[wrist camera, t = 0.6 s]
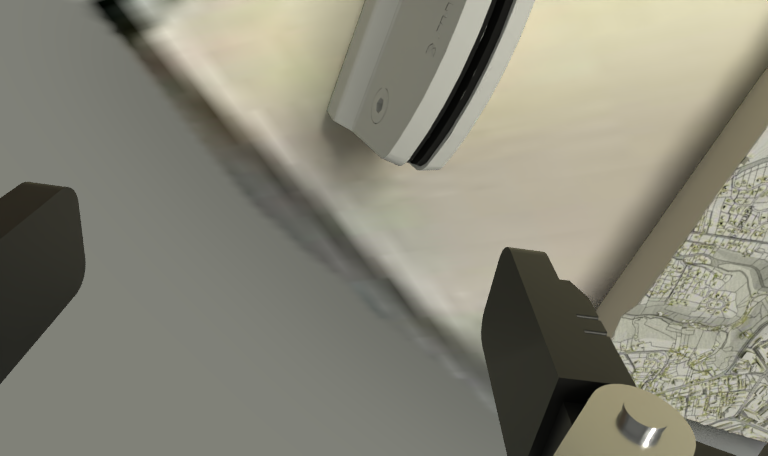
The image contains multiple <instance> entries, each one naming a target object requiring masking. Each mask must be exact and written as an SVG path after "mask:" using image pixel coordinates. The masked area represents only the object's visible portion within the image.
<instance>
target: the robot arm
mask: <svg viewBox="0 0 768 456" xmlns="http://www.w3.org/2000/svg"><path fill="white" fill-rule="evenodd" d="M84 273H85V254H84V245H83V237H82V228H81V221H80V212H79V203H78V198H77V195H76V193H75V192H74V190H73V189H71V188H69V187H62V186H55V185H47V184H40V183H32V182H24V183H21V184H20V185H18V186H17V187H16V188H14V189H13V190H12V191H10V192H8V193H7V194H6V195H4V196H3V197H1V198H0V384H1V383H2V381H3V380H4V379H5V378H6V376H7V375H8V374H9V373H10V372H11V371H12V369H13V368H14V367H15V366H16V365H17V364H18V362H19V361H20V360H21V359H22V358H23V356H24V355H25V354H26V353H27V352H28V351H29V349H30V348H31V347H32V346H33V345H34V343H35V342H36V341H37V340H38V339H39V338H40V336H41V335H42V334H43V333H44V332H45V330H46V329H47V328H48V327H49V326H50V325H51V323H52V322H53V321H54V320H55V319H56V317H57V316H58V315H59V314H60V313H61V312H62V310H63V309H64V308H65V307H66V306H67V304H68V303H69V302H70V301H71V300H72V298H73V297H74V296H75V295H76V294H77V292H78V290H79V288H80V286H81V284H82V281H83V278H84ZM598 318H599V316H598V315H597V313H596V311H595V309H594V307H593V305H592V303H591V302H590V300H589V298H588V297H587V296H586V295H585V294H583V293H582V292H581V291H580V290H579V289H578V288H577V287H576V286H575V285H573V284H572V283H571V282H570V281H567V280H559V278H558V276H557V274H556V272H555V270H554V268H553V266H552V264H551V262H550V260H549V258H548V256H547V254H546V253H545V252H540V251H533V250H525V249H518V248H511V247H506V248H504V250H503V251H502V253H501V255H500V258H499V262H498V265H497V269H496V272H495V275H494V279H493V282H492V286H491V289H490V293H489V296H488V300H487V303H486V307H485V310H484V314H483V319H482V329H481V339H482V346H483V351H484V355H485V359H486V364H487V368H488V373H489V377H490V381H491V386H492V390H493V395H494V399H495V403H496V408H497V412H498V417H499V421H500V425H501V430H502V434H503V439H504V443H505V447H506V452H507V456H736V455H733V454H730V453H727V452H725V451H722V450H719V449H716V448H713V447H711V446H708V445H705V444H703V443H700V442H698V441H696V440H695V436H694V433H693V431H692V429H691V427H690V425H689V424H688V423H687V421H686V420H685V419H684V417H683V416H682V415H681V414H680V413H679V412H678V411H677V410H676V409H674V408H673V407H672V406H671V405H670V404H668V403H667V402H665V401H664V400H663V399H661V398H659V397H658V396H656V395H654V394H652V393H650V392H648V391H646V390H643V389H640V388H637V386H636V385H635V383H634V381H633V379H632V377H631V375H630V374H629V372H628V370H627V368H626V366H625V364H624V363H623V361H622V359H621V357H620V355H619V353H618V351H617V350H616V348H615V346H614V344H613V342H612V340H611V339H610V337H609V336H607V331H606V329H605V327H604V326H603V324H602V322H601V321H600V320H598ZM758 456H768V444H767V445H765V446H764V448H763V449H762V451H761V452H760V454H759V455H758Z"/></svg>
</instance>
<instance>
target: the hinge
mask: <svg viewBox="0 0 768 456" xmlns="http://www.w3.org/2000/svg"><path fill="white" fill-rule="evenodd" d="M534 1H535V0H365V3H364V6H363V9H362V12H361V15H360V17H359V20H358V23H357V26H356V29H355V32H354V35H353V37H352V40H351V43H350V46H349V49H348V52H347V55H346V57H345V60H344V63H343V66H342V69H341V72H340V74H339V77H338V80H337V83H336V86H335V89H334V92H333V94H332V97H331V100H330V103H329V106H328V109H327V112H328V113H329V115H330V116H331V118H332V120H334V121H335V122H337V123H338V124H340V125H342V126H344V127H345V128H347V129H349V130H350V131H352V132H353V133H354V134H356V135H357V136H358V137H359V138H360V139H361V140H362V141H363V142H364V143H365V144H366V145H368V146H369V147H370V148H371V149H372V150H373V151H374V152H375V153H376V154H377V155H378V156H380V157H381V158H382V159H385V160H387V161H389V162H391V163H394V164H396V165H399V166H401V165H403V164H405V163H410V164H411V165H412V166H413V167H414V168H415V169H417V170H439V169H441V168H442V167H443V166H444V165H445V164H446V163H447V161H448V160H449V159H450V158H451V157H452V155H453V154H454V153H455V151H456V150H457V149H458V147H459V146H460V145H461V143H462V142H463V140H464V139H465V138H466V136H467V135H468V133H469V132H470V130H471V129H472V127H473V125H474V124H475V122H476V121H477V119H478V118H479V116H480V114H481V113H482V111H483V109H484V108H485V106H486V105H487V103H488V101H489V99H490V98H491V96H492V94H493V92H494V90H495V88H496V86H497V84H498V83H499V81H500V79H501V77H502V75H503V73H504V71H505V69H506V67H507V65H508V63H509V61H510V59H511V56H512V54H513V52H514V50H515V48H516V46H517V43H518V41H519V39H520V37H521V34H522V32H523V29H524V27H525V24H526V22H527V19H528V17H529V14H530V12H531V9H532V7H533V4H534Z"/></svg>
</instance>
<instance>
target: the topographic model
mask: <svg viewBox="0 0 768 456" xmlns="http://www.w3.org/2000/svg"><path fill="white" fill-rule="evenodd" d="M596 313H597V315H598V316H599V318H598V320H600V321H601V322H602V324H603V326H604V327H605V329H606V331H607V336H609V337H610V339H611V340H612V342H613V344H614V346H615V348H616V350H617V351H618V353H619V355H620V357H621V359H622V361H623V363H624V364H625V366H626V368H627V370H628V372H629V374H630V375H631V377H632V379H633V381H634V383H635V385H636V386H637V388H640V389H643V390H646V391H648V392H650V393H652V394H654V395H656V396H658V397H659V398H661V399H663V400H664V401H665V402H667V403H668V404H670V405H671V406H672V407H673V408H674V409H676V410H677V411H678V412H679V413H680V414H681V415H682V416H683V417H684V418H686V419H690V420H693V421H697V422H700V424H703V425H706V424H707V425H710V426H713V427H717V429H723V430H726V431H729V433H732V432H733V433H736V434H739V435H743V436H745V437H748V438H752V439H756V440H759V441H763V442H766V443H768V66H767V68H766V69H765V71H764V72H763V74H762V75H761V76H760V78H759V79H758V81H757V82H756V84H755V85H754V86H753V88H752V89H751V91H750V92H749V93H748V95H747V96H746V98H745V99H744V101H743V102H742V103H741V105H740V106H739V108H738V109H737V111H736V112H735V113H734V115H733V116H732V118H731V119H730V121H729V122H728V123H727V125H726V126H725V128H724V129H723V130H722V132H721V133H720V135H719V136H718V138H717V139H716V140H715V142H714V143H713V145H712V146H711V148H710V149H709V150H708V152H707V153H706V155H705V156H704V158H703V159H702V160H701V162H700V163H699V165H698V166H697V167H696V169H695V170H694V172H693V173H692V175H691V176H690V177H689V179H688V180H687V182H686V183H685V185H684V186H683V187H682V189H681V190H680V192H679V193H678V195H677V196H676V197H675V199H674V200H673V202H672V203H671V204H670V206H669V207H668V209H667V210H666V212H665V213H664V214H663V216H662V217H661V219H660V220H659V222H658V223H657V224H656V226H655V227H654V229H653V230H652V232H651V233H650V234H649V236H648V237H647V239H646V240H645V241H644V243H643V244H642V246H641V247H640V249H639V250H638V251H637V253H636V254H635V256H634V257H633V259H632V260H631V261H630V263H629V264H628V266H627V267H626V269H625V270H624V271H623V273H622V274H621V276H620V277H619V278H618V280H617V281H616V283H615V284H614V286H613V287H612V288H611V290H610V291H609V293H608V294H607V296H606V297H605V298H604V300H603V301H602V303H601V304H600V306H599V307H598V308H597V310H596Z"/></svg>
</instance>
